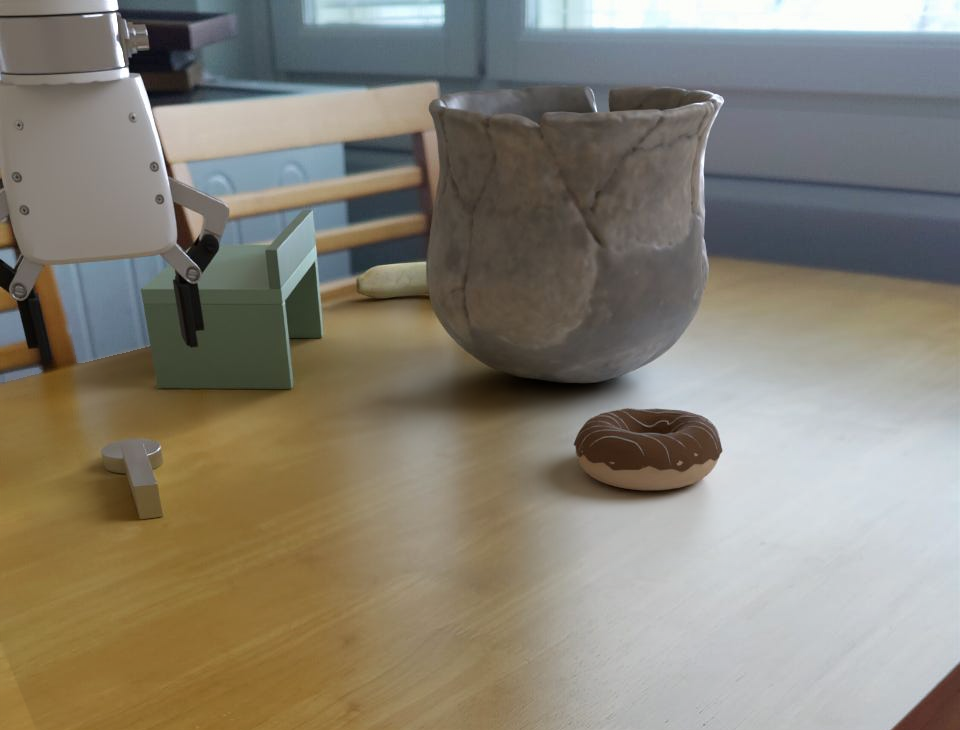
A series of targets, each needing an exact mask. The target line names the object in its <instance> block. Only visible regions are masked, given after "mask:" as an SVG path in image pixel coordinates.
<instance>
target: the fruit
mask: <svg viewBox="0 0 960 730" xmlns="http://www.w3.org/2000/svg"><path fill="white" fill-rule="evenodd" d="M355 281H356V283H355V284H356V287H355V289H356V294H357V293H358V294H360V295H363V296H366V297H369V298H373V299H392V298H399V297H408V296H420V295H421V296H422V295H430V293H429V290H428V286H427V282H426V261H417V262H416V261H415V262H400V263H391V264H389V263H388V264H382V265H381V264H380V265H375V266H373V267H370V268H368V269H367V270H366V271H364V272H363V273H361V274H360V275H359V276H357V277H356V279H355Z"/></svg>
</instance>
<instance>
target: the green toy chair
mask: <svg viewBox="0 0 960 730" xmlns="http://www.w3.org/2000/svg"><path fill="white" fill-rule="evenodd" d="M316 241H317V240H316V229H315V218H314V210H313V209H302V210H301V211H300V212H299V213H298V215H296V217H295V218H293V220H292V221H291V222H290V223H288V225H287V226H286V227H285V228H284V229H283V230H282V231H281V232H280V234H278V236H277V237H276V238H275V239H274V240H273V241H272V242H271V243H270V244H219V250H218V252H217V254H216V255H215V256H214V258H213V259H212V261H211V262H210V263H209V265H208V266H207V268H206V269H205V271H204V272H203V273H202V276H201V279H200V281H199V282H198V289H199V295H200V302H201V309H202V315H203V322H204V330H201V331H196V336H197V342H198V347H193V348H190V346H187V345H186V343H185V341H184V340H183V338H182V334H181V328H180V322H179V316H178V310H177V304H176V298H175V292H174V286H173V280H174V279H175V276H176V274H175V269H174V268H173V267H172V266H171V265H170V264H168V265H167V266H166V267H165V268H164V269H162V270H161V271H160V272H159V273H158V274H157V275H155V276H154V277H153V278H152V279H151V280H149V281H148V282H147V283H146V284H145V285H144V286H143V287H141V288H140V293H141V298H142V304H143V311H144V316H145V323H146V328H147V335H148V340H149V346H150V351H151V352H150V353H151V359H152V364H153V370H154V374H155V375H154V376H155V382H156V387H157V389H172V390H173V389H174V390H175V389H179V390H180V389H182V390H183V389H185V390H186V389H188V390H191V389H193V390H196V389H197V390H198V389H200V390H207V389H208V390H211V389H212V390H225V389H226V390H292V388H293V387H294V376H293V364H292V355H291V345H290V339H323V337H324V333H325V332H324V323H323V311H322V309H323V308H322V298H321V288H320V276H319V263H318V252H317V245H316V244H317V242H316ZM189 249H190V247H188V248H187V249H185V250H184V251H185V252H186V253H187V252H188V250H189Z"/></svg>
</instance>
